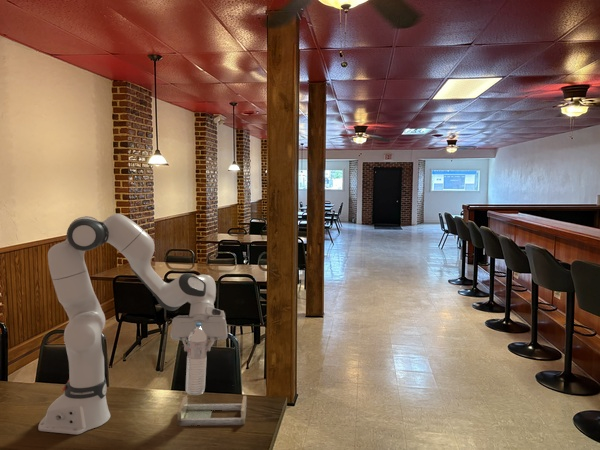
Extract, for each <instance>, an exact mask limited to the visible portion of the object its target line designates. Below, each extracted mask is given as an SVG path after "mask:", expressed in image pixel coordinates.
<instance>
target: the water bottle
mask: <svg viewBox="0 0 600 450" xmlns="http://www.w3.org/2000/svg"><path fill="white" fill-rule="evenodd" d="M207 339H208V334H207V333H206V331H205V330H204V329H203V328H201V323H196V328H194V329H193V330H192V331H191V332H190V333H189V334H188V340H187V345H188V351H187V356H186V370H185V372H186V373H185V374H186V375H185V392H186V393H187V395H190V396H200V395H202V394H204V392H205V389H206V376H207V360H208V359H207V352H208V351H206V346H207V345H208V340H207Z"/></svg>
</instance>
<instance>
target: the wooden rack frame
mask: <svg viewBox="0 0 600 450" xmlns="http://www.w3.org/2000/svg"><path fill="white" fill-rule="evenodd" d="M241 401H242V402H241V403H188V396H187V395H186V396H183V398H182V400H181V402H180V405H179V407H178V409H177V412H176V413H177V414H176V415H177V426H178V427H185V426H186V427H189V426H190V427H191V425H192V426H193V425H194V426H197V425H200V426H244V425H245V424H246V423H245V422H246V414H247V395H243V396H242V400H241ZM211 410H212V411H211ZM213 410H214V411H215V410H222V411H240V417H212V412H213ZM194 426H193V427H194ZM197 427H198V426H197Z"/></svg>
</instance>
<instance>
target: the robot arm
mask: <svg viewBox="0 0 600 450" xmlns="http://www.w3.org/2000/svg"><path fill="white" fill-rule="evenodd" d="M106 243H107V244H110V245H111V246H112V247H114V248H115V249H116V250H117V251H118V252H120V254H122V256H123V257H125V258H126V260H127V262H128V263H129V267H130V268H129V269H131V271H132V272H133V274H134V275H135V277H137V278H138V280H139V281H141V283H142V284H143V285H144V286H145V287H146V288H147V289H148V290H149V292H150V293H151V294H153V296H154V298H155V299H156V302H157V303H158V304H159V305H160V307H162V308H163V309H164V310H165V311H166V310H167V311H169V312H173V311H174V312H175V311H176V310H178V309H179V308H180V307H182V306H183V305H184V304H186V303H188V304H190V309H189V314H188V315H187V314H185V315H180V314H178V315H177V316H174V317H173V318H172V322H171V329H170V333H169V334H170V338H171V340H172V341H182V344H183V345H184V348H183V350H184V352H188V334H189V333H190V332H191V331H192V330H193V329H194V328H196V323H201V328H203V329H204V330H205V331H206V333H207V334H208V339H207V341H209V343H207V346H206V351H207V352H210V351H211V348H212V346H213V345H214V344H215V341H225V340H227V338H228V325H227V320H226V312H225V311H224V310H221V309H218V308H215V305H214V304H215V302H216V297H217V285H216V284H217V283H216V282H215V281H216V280H215V279H214V278H213V277H212V276H211V275H209V274H199V275H195V274H193V273H188V272H186V273H182V274H181V275H179V276H178V277H176V278H175V279H173V280H172V281H170V282H165V281H164V279H162V277H161V276H160V275H159V274H158V273H157V272H156V270H154V268H153V267H152V263H151V261H152V258H153V255H154V252H155V249H156V248H155V241H154V239H153V238H152V236H151V235H150V234H149V233H147V231H145V230H144V229H143V228H142V227H141V226H140V225H138V224H137V223H136V222H135V221H133V220H132V219H130V218H129V217H128V216H126V215H124V214H121V213H115V214H112V215H110V216H108V217H107V218H106V219H105V220H103V221H102V220H101V221H100V220H98V219H97V218H95V217H93V216H85V215H84V216H81V217H78V218H75V219H74V220H73V221H72V222H71V223H70V224H69V226H68V228H67V230H66V239H65V240H63V241H61V242H58V243H56V244H54V245H52V246H51V247H50V248H49V249H48V252H47V263H48V268H49V273H50V277H51V280H52V284H53V287H54V291H55V294H56V297H57V300H58V302H59V303H60V304H61V306H62V307H63V309H64V311H65V313H66V315H67V317H68V323H67V324H66V326H65V328H64V332H63V342H64V344H65V350H66V354H67V360H68V370H69V371H68V374H69V378H68V380H67V382H66V383H65V384H64V387H62V389H61V391H62V392H61V393H62V394H61V395H60V396H59V397H57V398H56V399H55V400H54V401H53V402H52V403H51V404H50V405H49V406H48V409H47V410H46V415H45V416H44V417H43V418H42V419H41V420H40V422H39V424H38V428H37V429H38V431H39V432H49V433H58V434H59V433H60V434H69V435H80V434H83V433H85V432H87V431H90V430H93V429H94V428H95V429H96V428H98V427H101V426H103V425H104V424H106V423H107V422H108V421H109V420H110V419H111V412H110V411H109V406H108V402H107V396H106V395H107V379H106V377H105V356H104V352H103V346H102V335H103V330H104V328H105V327H106V316H105V313H104V311H103V309H102V306H101V304H100V301H99V300H98V297H97V295H96V294H95V293H96V292H95V291H94V287H93V285H92V281H91V278H90V274H89V271H88V267H87V264H86V261H85V253H86V251H91V250H94V249H96V248H97V247H100V246H103V245H104V244H106ZM63 392H64V393H63Z"/></svg>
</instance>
